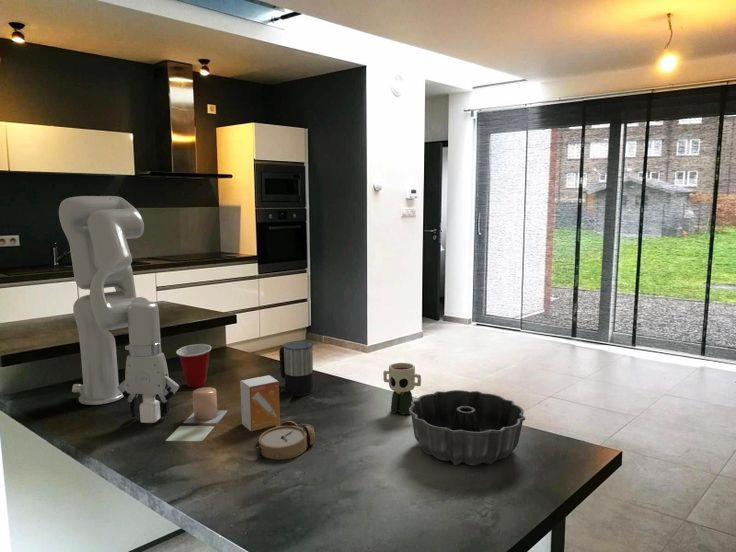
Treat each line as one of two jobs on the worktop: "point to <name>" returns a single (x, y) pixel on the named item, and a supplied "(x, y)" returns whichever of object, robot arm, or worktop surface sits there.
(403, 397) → the character mug
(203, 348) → the plastic cup
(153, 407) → the salt shaker
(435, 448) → the bundt pan
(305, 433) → the alarm clock
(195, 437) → the board
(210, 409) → the peach rounded cylinder
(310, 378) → the milk frother
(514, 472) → the worktop surface
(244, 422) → the small box
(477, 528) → the worktop surface
